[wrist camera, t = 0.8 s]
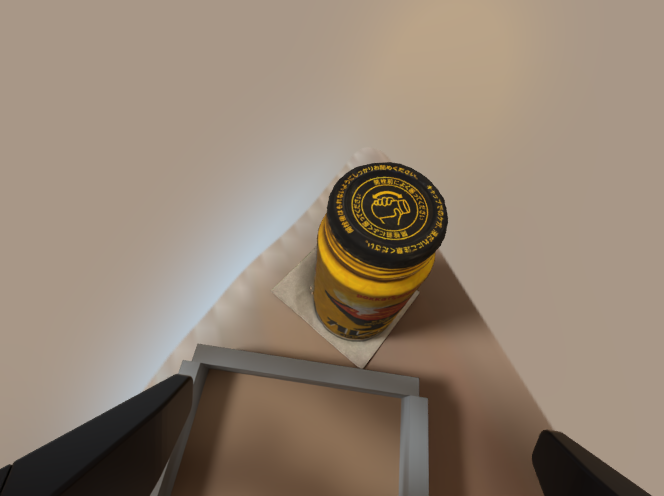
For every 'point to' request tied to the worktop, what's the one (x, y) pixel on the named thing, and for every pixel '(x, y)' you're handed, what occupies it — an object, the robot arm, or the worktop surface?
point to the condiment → (368, 257)
